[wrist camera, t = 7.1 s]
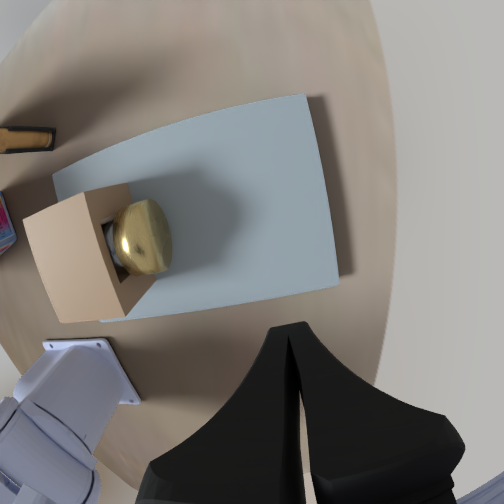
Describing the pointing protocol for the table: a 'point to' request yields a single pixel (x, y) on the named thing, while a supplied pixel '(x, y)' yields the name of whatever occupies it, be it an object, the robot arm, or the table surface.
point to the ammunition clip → (26, 139)
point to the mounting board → (194, 216)
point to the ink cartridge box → (5, 228)
